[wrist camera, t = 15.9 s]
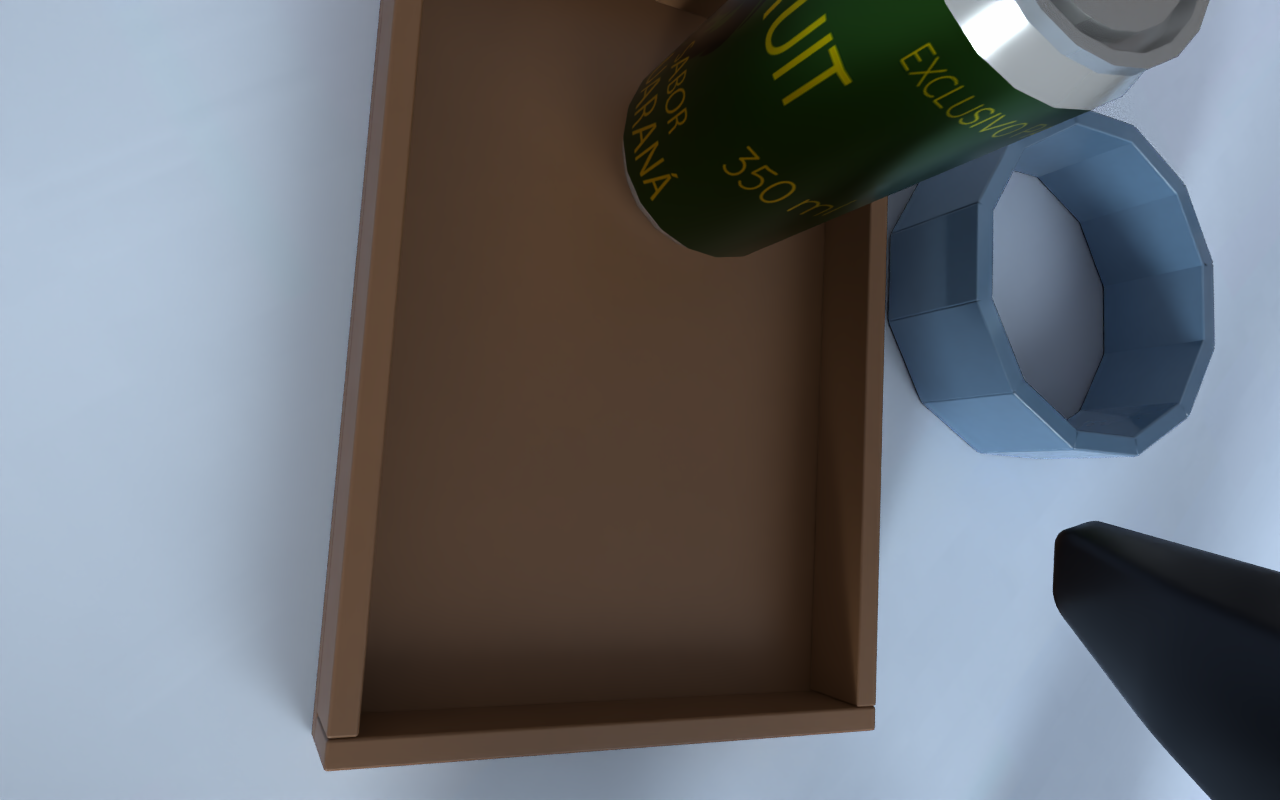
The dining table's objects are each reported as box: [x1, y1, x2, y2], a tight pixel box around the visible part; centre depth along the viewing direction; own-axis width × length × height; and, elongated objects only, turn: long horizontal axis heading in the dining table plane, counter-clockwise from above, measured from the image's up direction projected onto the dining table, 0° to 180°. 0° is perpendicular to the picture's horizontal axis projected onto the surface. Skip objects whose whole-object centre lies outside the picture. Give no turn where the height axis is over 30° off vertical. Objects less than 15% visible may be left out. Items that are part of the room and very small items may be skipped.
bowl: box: [888, 110, 1215, 459], centre depth 27 cm, size 10×10×4 cm
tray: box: [312, 0, 888, 771], centre depth 22 cm, size 19×13×3 cm
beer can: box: [622, 0, 1209, 257], centre depth 18 cm, size 5×5×12 cm
